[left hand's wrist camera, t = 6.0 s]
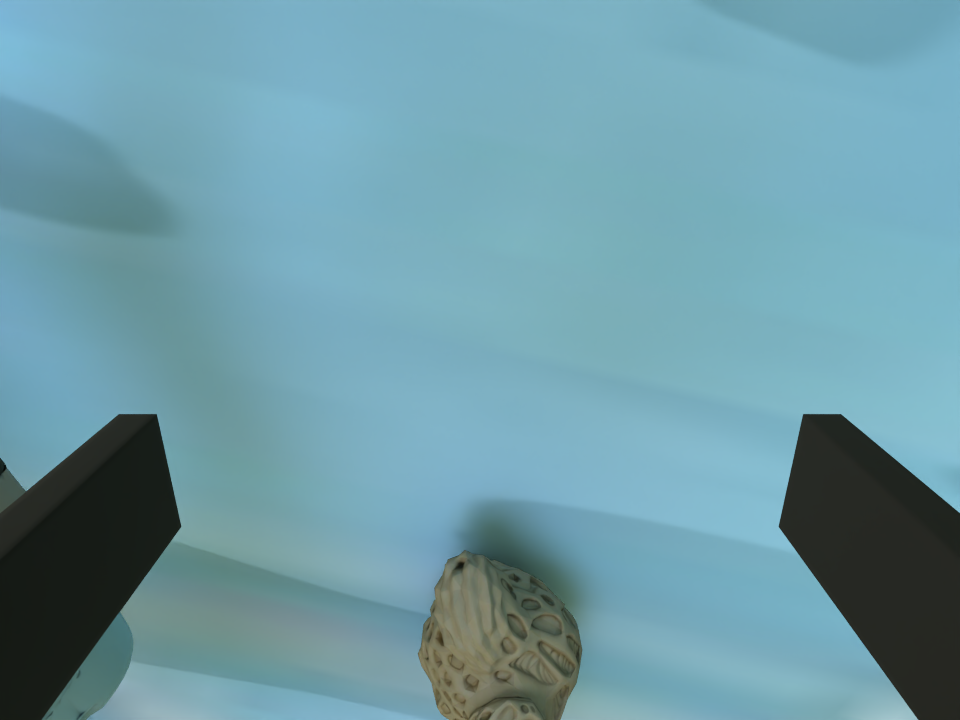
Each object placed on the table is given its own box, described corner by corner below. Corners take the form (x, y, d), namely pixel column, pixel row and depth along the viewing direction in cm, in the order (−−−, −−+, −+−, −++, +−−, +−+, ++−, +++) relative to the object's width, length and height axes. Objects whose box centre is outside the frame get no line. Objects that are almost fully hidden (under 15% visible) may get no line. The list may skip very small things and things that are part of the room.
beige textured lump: (395, 509, 46) (358, 679, 32) (546, 479, 45) (575, 642, 31) (462, 707, 54) (456, 914, 40) (592, 685, 53) (633, 890, 39)
